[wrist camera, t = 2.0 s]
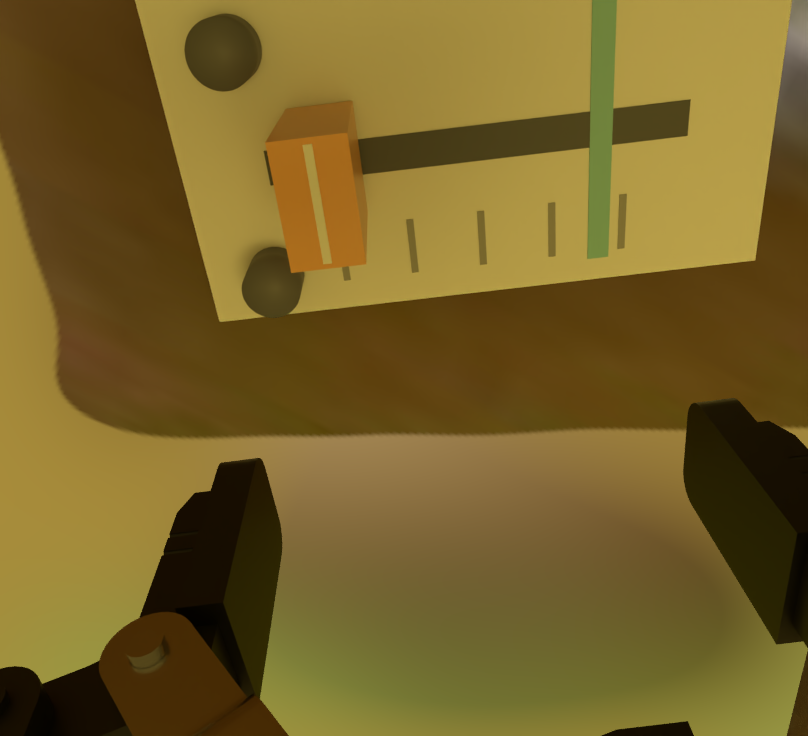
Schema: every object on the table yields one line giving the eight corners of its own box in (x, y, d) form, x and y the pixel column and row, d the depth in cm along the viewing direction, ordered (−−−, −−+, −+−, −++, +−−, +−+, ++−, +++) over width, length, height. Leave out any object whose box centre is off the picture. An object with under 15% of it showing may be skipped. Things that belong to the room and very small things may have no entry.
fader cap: (285, 108, 28) (264, 143, 22) (352, 100, 28) (347, 132, 22) (306, 218, 30) (291, 273, 25) (367, 211, 30) (366, 265, 24)
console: (150, -3, 28) (117, 1, 24) (776, -82, 27) (835, -89, 24) (227, 303, 34) (210, 342, 30) (735, 244, 33) (777, 277, 30)
